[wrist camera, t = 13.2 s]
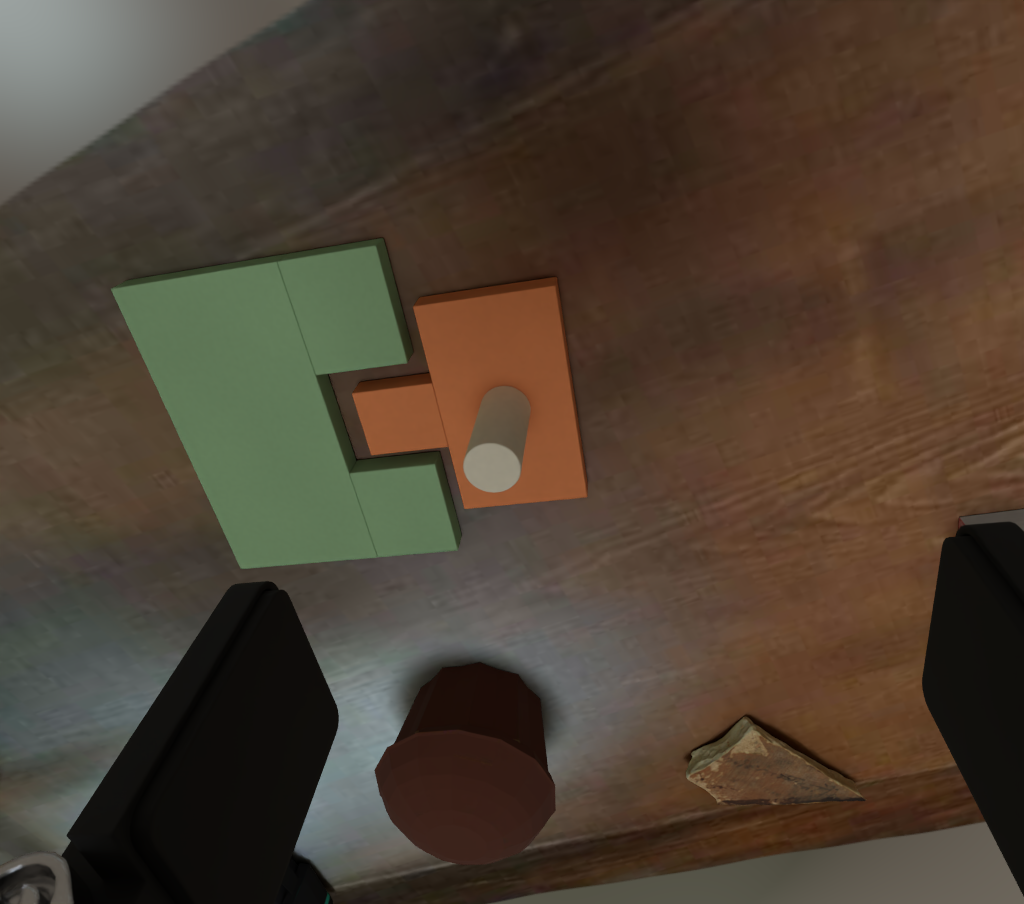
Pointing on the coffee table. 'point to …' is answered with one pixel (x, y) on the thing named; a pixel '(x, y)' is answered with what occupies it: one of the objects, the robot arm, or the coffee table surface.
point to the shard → (764, 771)
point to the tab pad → (471, 368)
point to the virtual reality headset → (302, 886)
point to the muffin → (469, 767)
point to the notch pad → (289, 403)
